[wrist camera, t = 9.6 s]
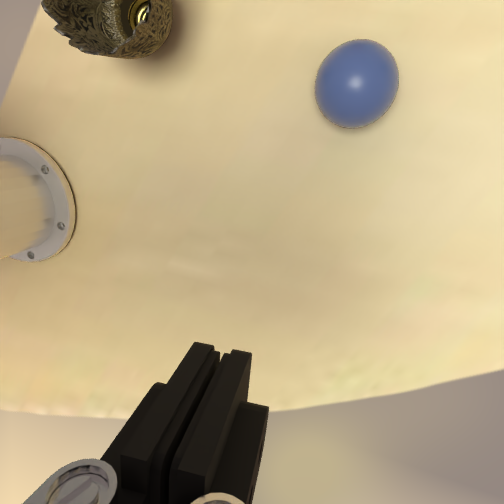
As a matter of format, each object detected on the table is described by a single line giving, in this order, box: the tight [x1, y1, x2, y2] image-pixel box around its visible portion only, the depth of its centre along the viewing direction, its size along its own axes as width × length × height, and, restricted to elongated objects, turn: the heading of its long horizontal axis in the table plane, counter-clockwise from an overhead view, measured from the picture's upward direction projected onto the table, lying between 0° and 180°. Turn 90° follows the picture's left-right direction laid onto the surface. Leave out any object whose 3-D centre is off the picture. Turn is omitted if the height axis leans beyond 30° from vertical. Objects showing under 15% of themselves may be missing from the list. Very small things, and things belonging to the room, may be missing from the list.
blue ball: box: [315, 39, 399, 128], centre depth 25 cm, size 6×6×6 cm
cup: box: [41, 0, 173, 59], centre depth 25 cm, size 8×7×8 cm
